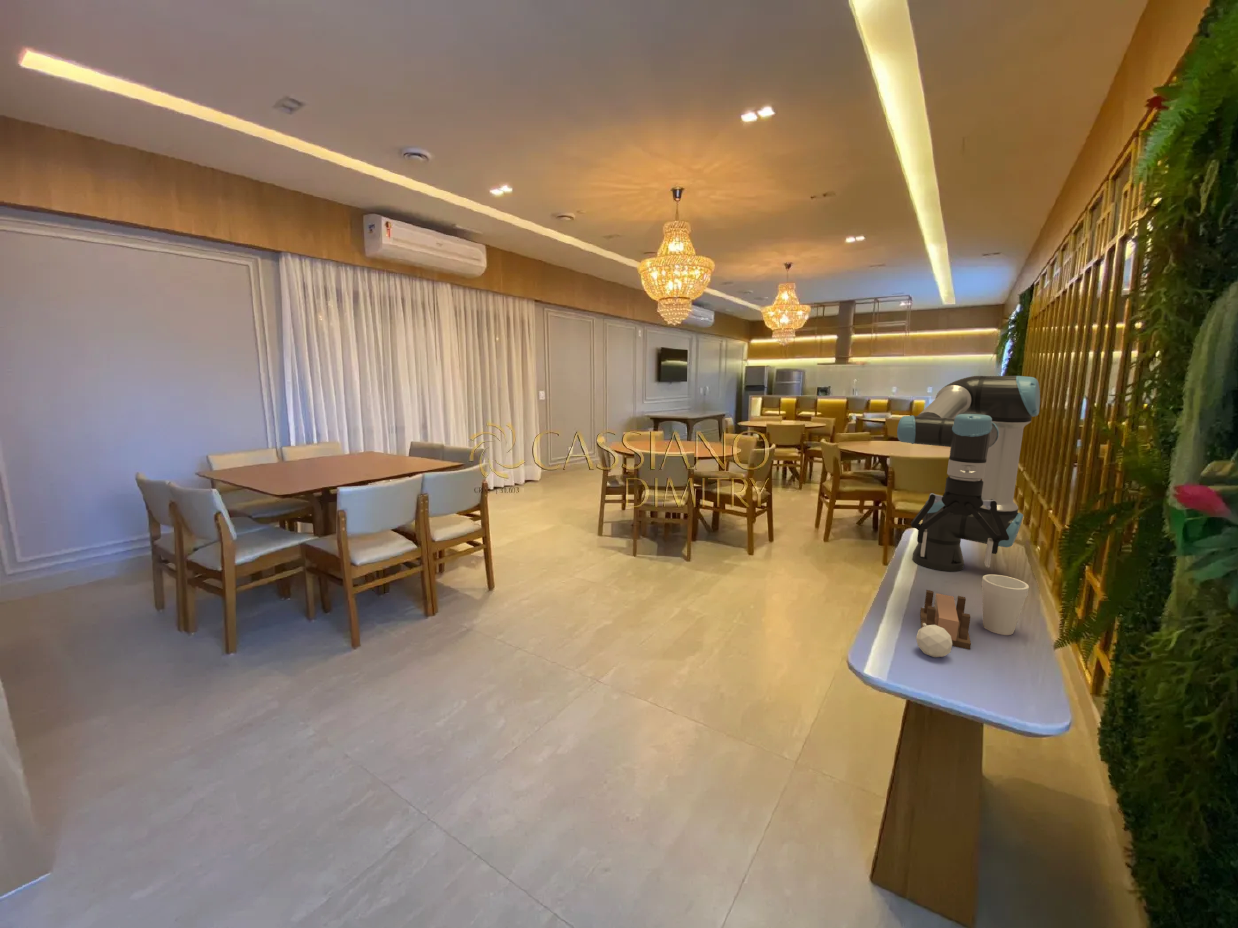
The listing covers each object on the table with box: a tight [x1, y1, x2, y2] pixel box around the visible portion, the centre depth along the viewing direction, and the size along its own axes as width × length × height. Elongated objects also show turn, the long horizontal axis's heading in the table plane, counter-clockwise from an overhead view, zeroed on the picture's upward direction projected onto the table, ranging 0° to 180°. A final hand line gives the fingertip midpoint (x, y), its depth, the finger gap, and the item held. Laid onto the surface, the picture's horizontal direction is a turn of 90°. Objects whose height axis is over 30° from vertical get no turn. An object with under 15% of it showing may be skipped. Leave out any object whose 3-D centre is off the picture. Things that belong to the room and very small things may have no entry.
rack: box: [919, 589, 972, 651], centre depth 128 cm, size 16×10×8 cm, turn 150°
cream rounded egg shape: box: [915, 623, 953, 658], centre depth 117 cm, size 7×7×8 cm
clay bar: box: [933, 592, 959, 641], centre depth 128 cm, size 16×4×5 cm, turn 150°
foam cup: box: [981, 574, 1030, 636], centre depth 128 cm, size 10×9×13 cm
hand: (953, 560), depth 126 cm, fingers open, 13 cm apart
